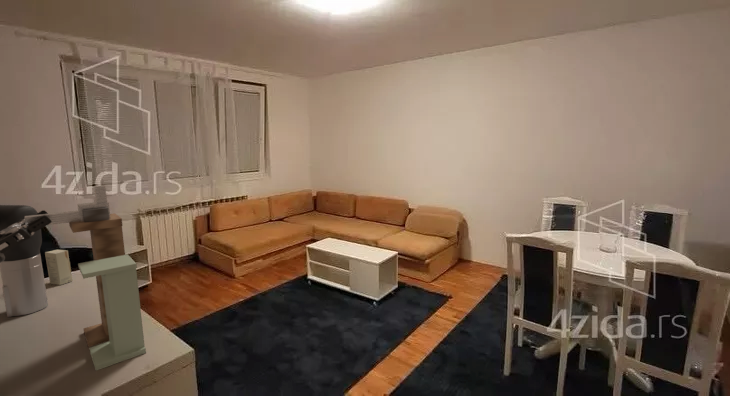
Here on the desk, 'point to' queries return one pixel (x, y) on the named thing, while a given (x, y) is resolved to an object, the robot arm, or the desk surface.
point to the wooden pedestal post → (104, 246)
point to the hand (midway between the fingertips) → (48, 215)
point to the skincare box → (58, 267)
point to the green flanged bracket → (118, 309)
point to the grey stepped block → (75, 215)
